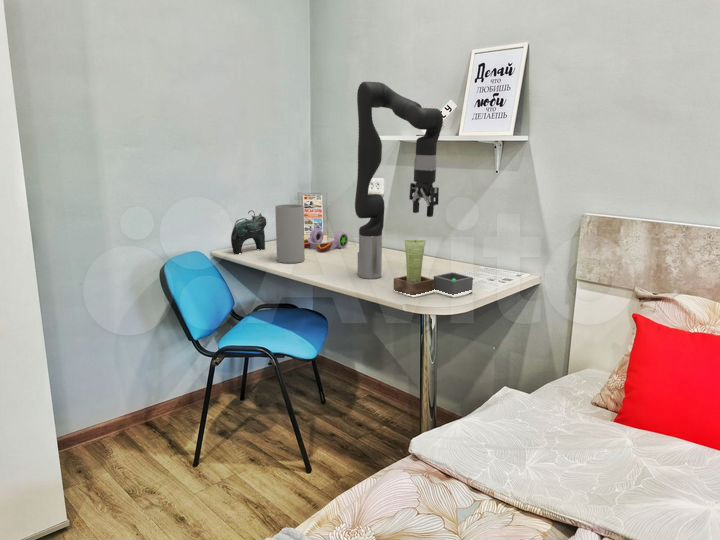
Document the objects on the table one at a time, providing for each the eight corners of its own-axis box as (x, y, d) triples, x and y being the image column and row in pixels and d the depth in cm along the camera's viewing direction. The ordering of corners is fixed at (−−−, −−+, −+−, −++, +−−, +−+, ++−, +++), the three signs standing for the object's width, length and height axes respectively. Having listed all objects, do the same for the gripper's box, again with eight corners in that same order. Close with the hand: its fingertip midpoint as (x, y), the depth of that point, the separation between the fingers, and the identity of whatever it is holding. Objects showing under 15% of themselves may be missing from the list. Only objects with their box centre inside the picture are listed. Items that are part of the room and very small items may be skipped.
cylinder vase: (274, 258, 260) (273, 204, 254) (301, 257, 264) (300, 204, 258) (279, 264, 249) (278, 208, 243) (307, 262, 252) (306, 207, 246)
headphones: (349, 232, 287) (323, 232, 271) (347, 251, 288) (322, 252, 272) (320, 228, 298) (294, 228, 282) (319, 246, 300) (292, 247, 284)
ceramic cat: (262, 247, 286) (260, 208, 281) (270, 249, 281) (268, 209, 277) (229, 253, 271) (227, 212, 266) (238, 255, 267) (236, 213, 262)
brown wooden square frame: (393, 291, 207) (393, 278, 206) (414, 286, 214) (414, 274, 212) (413, 297, 199) (413, 284, 198) (434, 292, 206) (434, 279, 204)
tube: (412, 289, 210) (414, 237, 206) (423, 291, 207) (425, 239, 202) (403, 292, 206) (404, 240, 202) (414, 295, 203) (415, 241, 198)
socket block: (432, 292, 207) (433, 273, 205) (451, 287, 213) (452, 269, 211) (453, 298, 199) (454, 279, 197) (472, 293, 205) (473, 274, 203)
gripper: (404, 166, 198) (402, 212, 202) (428, 170, 186) (425, 218, 190) (422, 166, 201) (419, 210, 206) (446, 169, 189) (443, 217, 194)
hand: (422, 214), depth 198 cm, fingers open, 8 cm apart
